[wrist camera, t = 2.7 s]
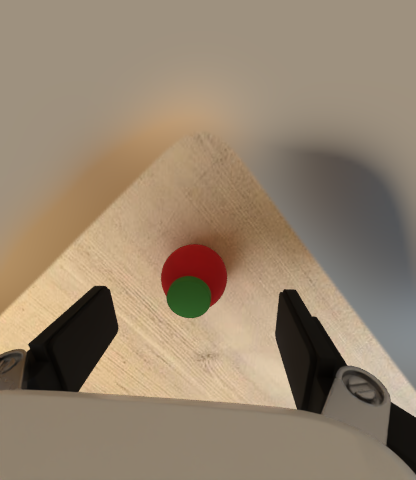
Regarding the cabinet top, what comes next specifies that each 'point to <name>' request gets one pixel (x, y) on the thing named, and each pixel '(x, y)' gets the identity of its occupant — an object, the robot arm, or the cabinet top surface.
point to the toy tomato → (193, 280)
